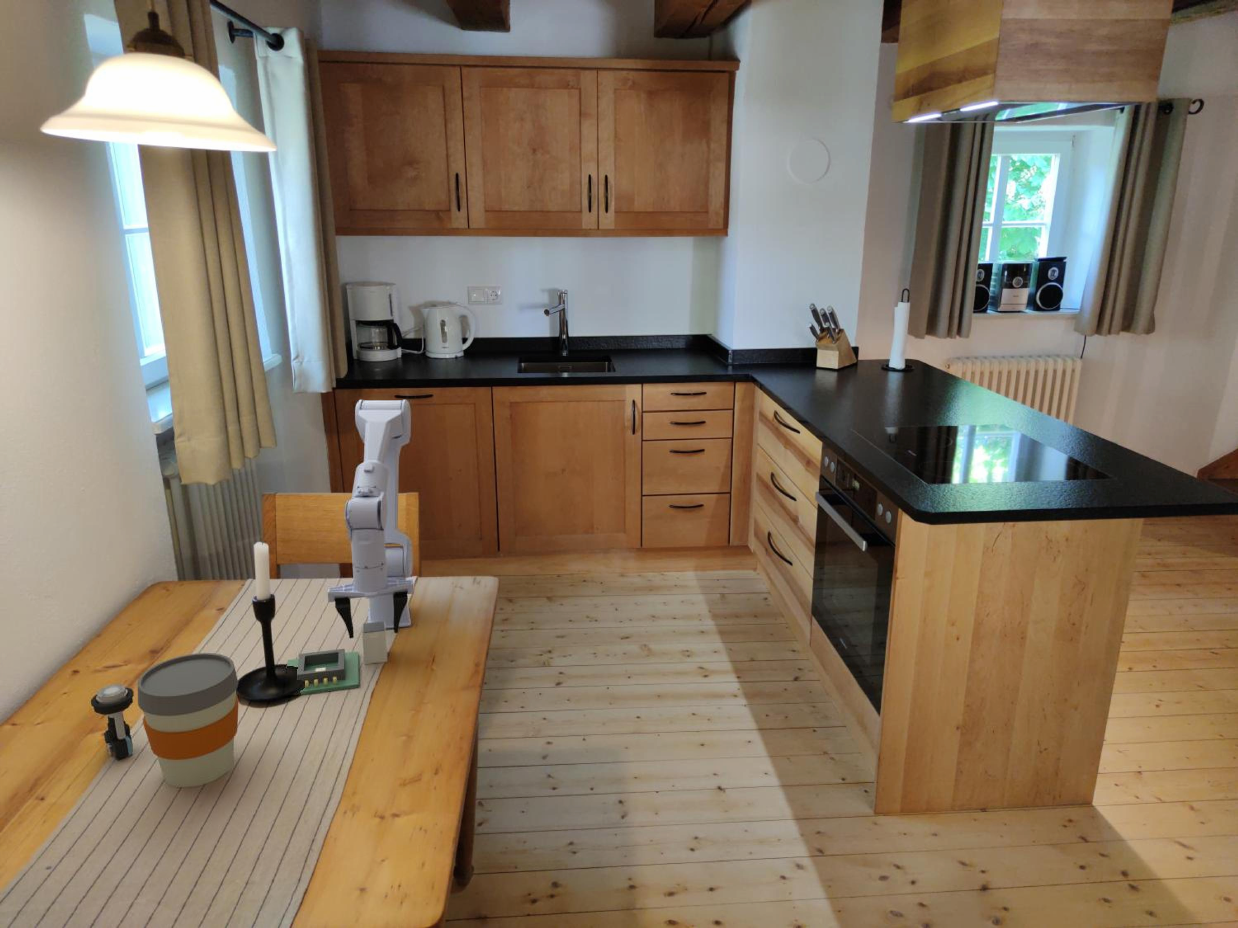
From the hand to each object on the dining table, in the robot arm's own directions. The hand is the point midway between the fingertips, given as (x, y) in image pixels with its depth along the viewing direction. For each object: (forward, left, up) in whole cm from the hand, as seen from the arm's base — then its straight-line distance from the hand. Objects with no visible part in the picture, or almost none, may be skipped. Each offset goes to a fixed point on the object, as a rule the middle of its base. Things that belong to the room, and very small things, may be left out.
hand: (373, 633), depth 151 cm
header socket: (+4, -9, -5) cm, 11 cm away
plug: (0, 0, -5) cm, 5 cm away
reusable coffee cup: (+27, -25, -5) cm, 37 cm away
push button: (+19, -37, -5) cm, 42 cm away
